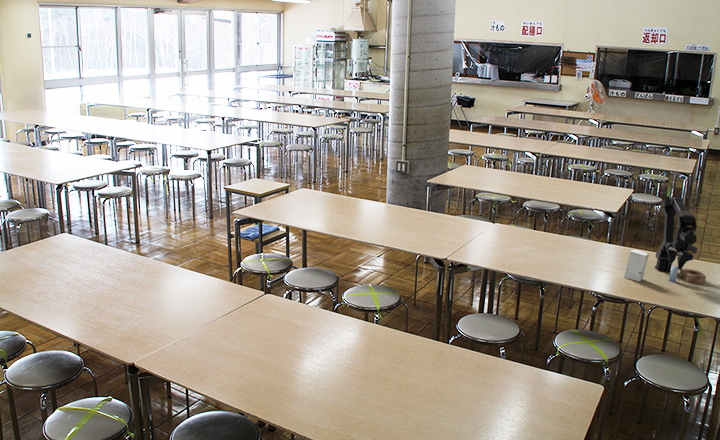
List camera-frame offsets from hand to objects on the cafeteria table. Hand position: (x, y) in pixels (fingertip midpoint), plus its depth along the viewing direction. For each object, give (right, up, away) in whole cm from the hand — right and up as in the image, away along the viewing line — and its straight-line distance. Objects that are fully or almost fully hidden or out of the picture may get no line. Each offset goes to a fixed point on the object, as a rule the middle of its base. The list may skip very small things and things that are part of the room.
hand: (675, 266), depth 308 cm
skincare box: (-20, -7, +3) cm, 22 cm away
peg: (0, -8, +2) cm, 8 cm away
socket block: (+12, -7, +6) cm, 15 cm away
